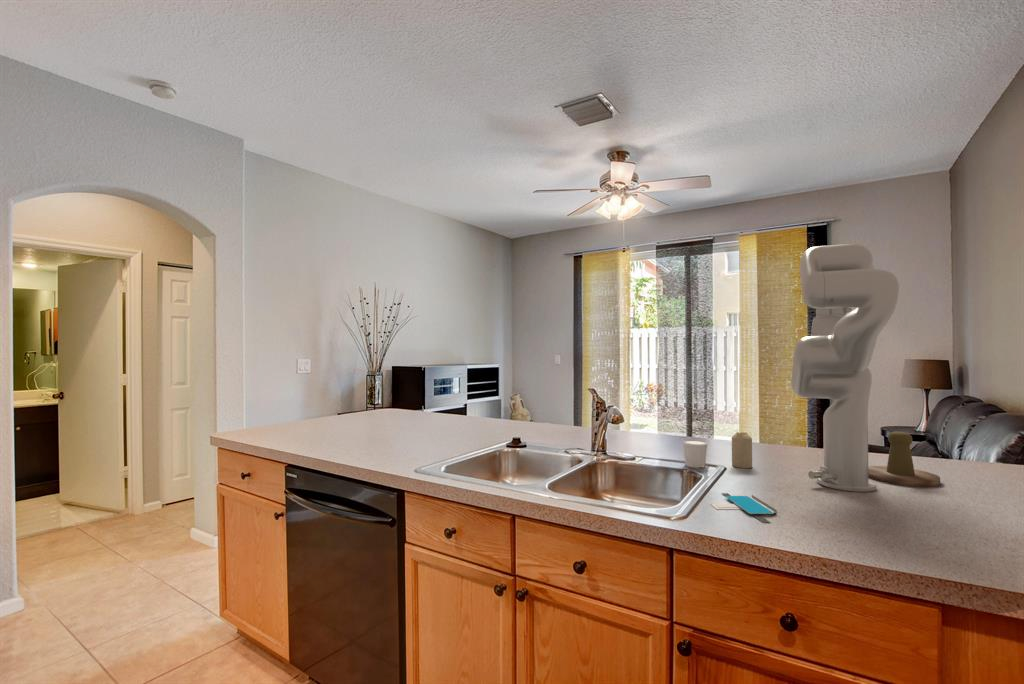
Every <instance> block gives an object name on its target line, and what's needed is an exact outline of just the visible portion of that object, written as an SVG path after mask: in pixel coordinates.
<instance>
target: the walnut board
mask: <svg viewBox="0 0 1024 684" xmlns="http://www.w3.org/2000/svg"><path fill="white" fill-rule="evenodd" d="M914 472H915V475H914V476H902V475H895V474H891V473H888V472H887V465H870V466H868V479H871V480H874V481H878V482H881V483H886V484H892V485H898V486H903V487H904V486H905V487H915V488H933V487H938V486H940V485H941V477H940V476H939V475H938V474H935V473H931V472H928V471H925V470H920V469H915V468H914Z"/></svg>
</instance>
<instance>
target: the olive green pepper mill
mask: <svg viewBox="0 0 1024 684" xmlns="http://www.w3.org/2000/svg"><path fill="white" fill-rule="evenodd" d="M887 441H888V442H889V444H890V446H889V452H888V457H887V463H886V464H887V465H886V466H887V472H888V473H891V474H895V475H902V476H914V475H915V472H914V469H915V467H914V466H915V465H914V463H913V456H912V451H911V446H910V445H912V443H913V436H912V435H911V434H910V433H908V432H904V431H891V432H889V433H888V435H887Z"/></svg>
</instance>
